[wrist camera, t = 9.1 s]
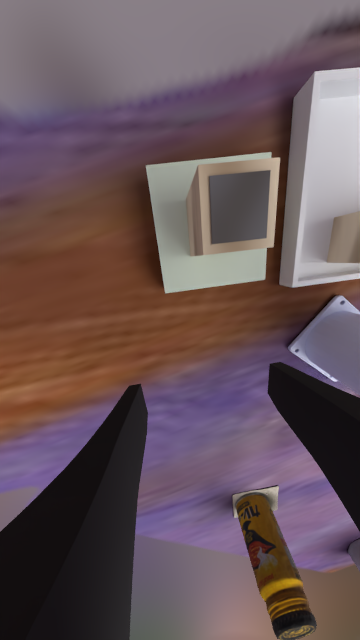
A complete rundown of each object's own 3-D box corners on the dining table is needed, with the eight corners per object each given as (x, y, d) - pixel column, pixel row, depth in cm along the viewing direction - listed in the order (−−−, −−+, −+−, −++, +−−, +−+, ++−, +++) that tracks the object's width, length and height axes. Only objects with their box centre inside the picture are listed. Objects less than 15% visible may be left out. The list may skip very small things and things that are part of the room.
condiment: (231, 494, 30) (271, 631, 19) (278, 484, 31) (343, 615, 19) (233, 516, 33) (269, 649, 22) (276, 507, 33) (333, 634, 22)
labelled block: (238, 194, 13) (281, 156, 8) (237, 251, 14) (274, 247, 10) (185, 199, 13) (198, 163, 8) (190, 256, 14) (203, 255, 9)
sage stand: (254, 169, 15) (271, 152, 12) (251, 276, 18) (265, 279, 15) (148, 180, 14) (145, 165, 12) (165, 288, 17) (165, 293, 15)
